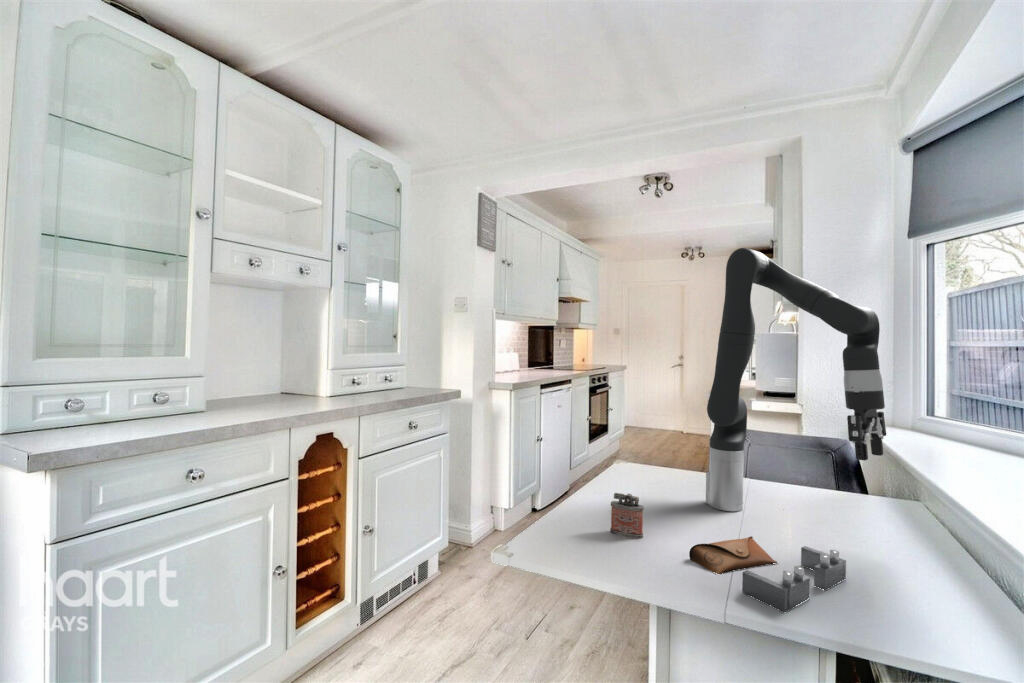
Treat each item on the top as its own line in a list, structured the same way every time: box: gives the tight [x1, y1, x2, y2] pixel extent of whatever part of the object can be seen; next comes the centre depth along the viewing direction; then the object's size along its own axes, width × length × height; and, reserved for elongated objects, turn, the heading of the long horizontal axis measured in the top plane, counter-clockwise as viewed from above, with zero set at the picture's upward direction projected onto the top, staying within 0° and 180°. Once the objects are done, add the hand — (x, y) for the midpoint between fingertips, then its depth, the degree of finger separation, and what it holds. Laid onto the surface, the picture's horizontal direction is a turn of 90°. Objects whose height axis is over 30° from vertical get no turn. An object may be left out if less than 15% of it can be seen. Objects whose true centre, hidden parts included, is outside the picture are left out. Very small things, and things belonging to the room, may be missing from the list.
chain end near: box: [741, 565, 811, 613], centre depth 91 cm, size 8×9×6 cm
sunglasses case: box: [688, 536, 778, 575], centre depth 106 cm, size 18×7×7 cm, turn 111°
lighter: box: [609, 492, 645, 540], centre depth 120 cm, size 8×3×10 cm, turn 65°
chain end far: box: [800, 545, 847, 591], centre depth 99 cm, size 8×9×6 cm
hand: (870, 457), depth 114 cm, fingers open, 8 cm apart
